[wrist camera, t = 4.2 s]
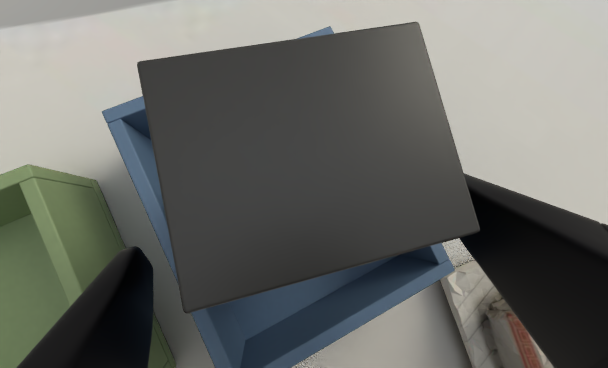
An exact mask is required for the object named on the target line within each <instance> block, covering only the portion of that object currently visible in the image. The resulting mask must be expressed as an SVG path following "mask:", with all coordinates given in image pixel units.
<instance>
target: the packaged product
mask: <svg viewBox="0 0 608 368" xmlns="http://www.w3.org/2000/svg"><path fill="white" fill-rule="evenodd" d="M440 281H441V284H442V286H443V289H444V292H445V294H446V297H447V300H448V302H449V305H450V308H451V310H452V313H453V316H454V318H455V321H456V324H457V326H458V329H459V332H460V334H461V337H462V340H463V342H464V345H465V348H466V350H467V353H468V356H469V359H470V362H471V365H472V368H554V367H553V366H552V364H551V363H550V362H549V360H548V359H547V357H546V356H545V355H544V353H543V352H542V351H541V349H540V348H539V347H538V345H537V344H536V342H535V341H534V340H533V338H532V337H531V336H530V334H529V333H528V332H527V330H526V329H525V327H524V326H523V325H522V323H521V322H520V321H519V319H518V318H517V317H516V315H515V314H514V312H513V311H512V310H511V308H510V307H509V306H508V304H507V303H506V302H505V300H504V299H503V297H502V296H501V295H500V293H499V292H498V291H497V289H496V288H495V287H494V285H493V284H492V282H491V281H490V280H489V278H488V277H487V276H486V274H485V273H484V272H483V270H482V269H481V267H480V266H479V265H478V263H477V262H476V261H475V260H474V261H471V262H468V263H466V264H464V265H461V266H459V267H457V268H455V271H453V272H452V273H450V274H448V275H447V276H445V277H443V278H442V279H440Z"/></svg>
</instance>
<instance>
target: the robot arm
mask: <svg viewBox="0 0 608 368" xmlns="http://www.w3.org/2000/svg"><path fill="white" fill-rule="evenodd" d="M464 177H465V180H466V184H467V187H468V190H469V194H470V197H471V200H472V204H473V207H474V210H475V214H476V217H477V220H478V224H479V227H480V231H479V232H478V233H475V234H471V235H468V236H464V237H461V238H460V240H461V241H462V243H463V244H464V246H465V247H466V248H467V250H468V251H469V252H470V254H471V255H472V256H473V258H474V259H475V261H476V262H477V263H478V265H479V266H480V267H481V269H482V270H483V272H484V273H485V274H486V276H487V277H488V278H489V280H490V281H491V282H492V284H493V285H494V287H495V288H496V289H497V291H498V292H499V293H500V295H501V296H502V297H503V299H504V300H505V302H506V303H507V304H508V306H509V307H510V308H511V310H512V311H513V312H514V314H515V315H516V317H517V318H518V319H519V321H520V322H521V323H522V325H523V326H524V327H525V329H526V330H527V332H528V333H529V334H530V336H531V337H532V338H533V340H534V341H535V342H536V344H537V345H538V347H539V348H540V349H541V351H542V352H543V353H544V355H545V356H546V357H547V359H548V360H549V362H550V363H551V364H552V366H553V367H554V368H608V225H606V224H600V223H599V222H597V221H595V220H592V219H589V218H586V217H583V216H581V215H578V214H575V213H572V212H569V211H567V210H564V209H561V208H558V207H556V206H553V205H550V204H547V203H544V202H542V201H539V200H536V199H533V198H531V197H528V196H525V195H522V194H519V193H517V192H514V191H511V190H508V189H506V188H503V187H500V186H497V185H494V184H492V183H489V182H486V181H483V180H480V179H478V178H475V177H472V176H469V175H467V174H464ZM152 329H153V267H152V265H151V263H150V262H149V260H148V259H147V257H146V256H145V254H144V253H143V252H142V250H141V249H140V248H139V247H131V248H127V249H123V250H121V251H119V252H118V253H117V254H116V255H115V256H114V258H113V259H112V260H111V261H110V262H109V263H108V264H107V265H106V267H105V268H104V269H103V270H102V271H101V272H100V273H99V275H98V276H97V277H96V278H95V279H94V280H93V281H92V282H91V284H90V285H89V286H88V287H87V288H86V289H85V290H84V292H83V293H82V294H81V295H80V296H79V297H78V298H77V299H76V301H75V302H74V303H73V304H72V305H71V306H70V307H69V308H68V310H67V311H66V312H65V313H64V314H63V315H62V316H61V318H60V319H59V320H58V321H57V322H56V323H55V324H54V325H53V327H52V328H51V329H50V330H49V331H48V332H47V333H46V334H45V336H44V337H43V338H42V339H41V340H40V341H39V342H38V344H37V345H36V346H35V347H34V348H33V349H32V350H31V351H30V353H29V354H28V355H27V356H26V357H25V358H24V359H23V361H22V362H21V363H20V364H19V365H18V366H17V367H16V368H148V362H149V354H150V346H151V338H152Z"/></svg>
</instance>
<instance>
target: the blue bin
mask: <svg viewBox="0 0 608 368" xmlns="http://www.w3.org/2000/svg"><path fill="white" fill-rule="evenodd" d="M328 34H334V32H333V30H332V28H331V27H330V26H329V27H327V28H324V29H321V30H319V31H316V32H313V33H311V34H308V35H305V36H303V37H300V38H307V37H314V36H321V35H328ZM300 38H297V39H300ZM102 114H103V116H104V118H105V120H106V123H108V127H109V129H110V131H111V134H112V136H113V138H114V140H115V143H116V145H117V147H118V149H119V152H120V154H121V156H122V158H123V161H124V163H125V165H126V167H127V170H128V172H129V174H130V176H131V179H132V181H133V183H134V185H135V188H136V190H137V192H138V195H139V197H140V199H141V201H142V204H143V206H144V208H145V210H146V213H147V215H148V217H149V219H150V222H151V224H152V226H153V228H154V231H155V233H156V235H157V237H158V240H159V242H160V244H161V246H162V249H163V251H164V253H165V255H166V258H167V260H168V262H169V264H170V267H171V269H172V271H173V273H174V276H175V278H176V280H177V282H178V279H177V274H176V268H175V263H174V258H173V252H172V247H171V242H170V237H169V231H168V226H167V221H166V215H165V210H164V205H163V199H162V194H161V189H160V184H159V178H158V173H157V168H156V162H155V157H154V152H153V147H152V141H151V136H150V131H149V125H148V120H147V115H146V109H145V104H144V99H143V96H142V97H139V98H136V99H134V100H131V101H128V102H126V103H123V104H120V105H118V106H115V107H112V108H110V109H107V110H104V111H102ZM453 271H455V269H454V267H453V265H452V263H451V261H450V260H449V257H448V255H447V253H446V251H445V249H444V247H443V245H442V243H439V244H435V245H432V246H428V247H425V248H421V249H417V250H414V251H410V252H407V253H403V254H400V255H396V256H392V257H389V258H385V259H382V260H378V261H374V262H371V263H367V264H364V265H360V266H356V267H353V268H349V269H346V270H342V271H338V272H335V273H331V274H328V275H324V276H321V277H317V278H313V279H310V280H306V281H303V282H299V283H295V284H292V285H288V286H285V287H281V288H277V289H274V290H270V291H267V292H263V293H259V294H256V295H252V296H249V297H245V298H242V299H238V300H234V301H231V302H227V303H224V304H220V305H216V306H213V307H209V308H206V309H202V310H198V311H195V312H191V314H192V316H193V319H194V321H195V323H196V325H197V328H198V330H199V332H200V334H201V337H202V339H203V341H204V343H205V346H206V348H207V350H208V352H209V355H210V357H211V359H212V361H213V364H214V366H215V368H291V367H292V366H294V365H296V364H297V363H299V362H301V361H303V360H304V359H306V358H308V357H309V356H311V355H313V354H314V353H316V352H318V351H319V350H321V349H323V348H325V347H326V346H328V345H330V344H331V343H333V342H335V341H336V340H338V339H340V338H342V337H343V336H345V335H347V334H348V333H350V332H352V331H353V330H355V329H357V328H358V327H360V326H362V325H364V324H365V323H367V322H369V321H370V320H372V319H374V318H375V317H377V316H379V315H381V314H382V313H384V312H386V311H387V310H389V309H391V308H392V307H394V306H396V305H397V304H399V303H401V302H403V301H404V300H406V299H408V298H409V297H411V296H413V295H414V294H416V293H418V292H420V291H421V290H423V289H425V288H426V287H428V286H430V285H431V284H433V283H435V282H436V281H438V280H440V279H442V278H443V277H445V276H447V275H448V274H450V273H452V272H453ZM178 285H179V284H178Z"/></svg>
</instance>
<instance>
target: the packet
mask: <svg viewBox="0 0 608 368" xmlns="http://www.w3.org/2000/svg"><path fill="white" fill-rule="evenodd" d="M137 67H138V72H139V78H140V83H141V88H142V94H143V99H144V104H145V109H146V115H147V120H148V125H149V131H150V136H151V141H152V147H153V152H154V157H155V162H156V168H157V173H158V178H159V184H160V189H161V194H162V199H163V205H164V210H165V215H166V221H167V226H168V231H169V237H170V242H171V247H172V252H173V258H174V263H175V268H176V274H177V279H178V284H179V290H180V295H181V300H182V305H183V310H184V312H185V313H191V312H195V311H198V310H202V309H206V308H209V307H213V306H216V305H220V304H224V303H227V302H231V301H234V300H238V299H242V298H245V297H249V296H252V295H256V294H259V293H263V292H267V291H270V290H274V289H277V288H281V287H285V286H288V285H292V284H295V283H299V282H303V281H306V280H310V279H313V278H317V277H321V276H324V275H328V274H331V273H335V272H338V271H342V270H346V269H349V268H353V267H356V266H360V265H364V264H367V263H371V262H374V261H378V260H382V259H385V258H389V257H392V256H396V255H400V254H403V253H407V252H410V251H414V250H417V249H421V248H425V247H428V246H432V245H435V244H439V243H443V242H446V241H450V240H453V239H457V238H461V237H464V236H468V235H471V234H475V233H478V232H479V231H480V227H479V224H478V220H477V217H476V214H475V210H474V207H473V204H472V200H471V197H470V194H469V190H468V187H467V184H466V180H465V177H464V173H463V170H462V167H461V163H460V160H459V157H458V153H457V150H456V147H455V143H454V140H453V136H452V133H451V130H450V126H449V123H448V120H447V116H446V113H445V110H444V106H443V103H442V100H441V96H440V93H439V89H438V86H437V83H436V79H435V76H434V73H433V69H432V66H431V63H430V59H429V56H428V53H427V49H426V46H425V42H424V39H423V36H422V32H421V29H420V26H419V23H418V22H412V23H405V24H398V25H391V26H384V27H377V28H370V29H363V30H356V31H349V32H342V33H335V34H328V35H321V36H314V37H307V38H300V39H293V40H286V41H279V42H272V43H265V44H258V45H251V46H244V47H237V48H230V49H223V50H216V51H209V52H202V53H195V54H188V55H181V56H175V57H168V58H161V59H154V60H147V61H140V62H138V64H137Z"/></svg>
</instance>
